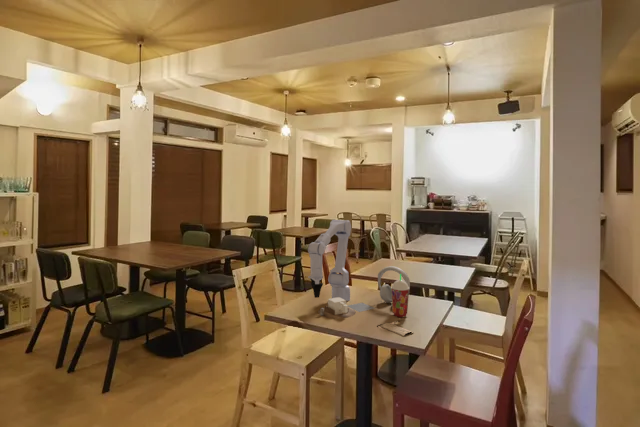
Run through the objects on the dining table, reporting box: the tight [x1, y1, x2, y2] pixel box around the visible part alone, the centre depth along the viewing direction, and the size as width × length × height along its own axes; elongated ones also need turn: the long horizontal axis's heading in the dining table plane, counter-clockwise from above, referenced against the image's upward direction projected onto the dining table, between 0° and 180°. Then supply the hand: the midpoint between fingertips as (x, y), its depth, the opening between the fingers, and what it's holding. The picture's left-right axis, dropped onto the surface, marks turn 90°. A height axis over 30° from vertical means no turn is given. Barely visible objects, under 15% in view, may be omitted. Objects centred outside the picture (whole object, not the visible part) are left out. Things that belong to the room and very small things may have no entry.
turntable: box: [318, 305, 357, 320], centre depth 186 cm, size 18×18×4 cm
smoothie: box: [391, 274, 410, 318], centre depth 184 cm, size 8×8×20 cm
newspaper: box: [377, 322, 413, 337], centre depth 171 cm, size 24×7×2 cm, turn 35°
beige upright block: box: [327, 297, 349, 315], centre depth 184 cm, size 12×6×6 cm, turn 28°
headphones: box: [377, 265, 411, 304], centre depth 202 cm, size 18×8×20 cm, turn 50°
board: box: [348, 302, 376, 313], centre depth 189 cm, size 30×20×1 cm, turn 121°
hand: (316, 295), depth 186 cm, fingers open, 7 cm apart
